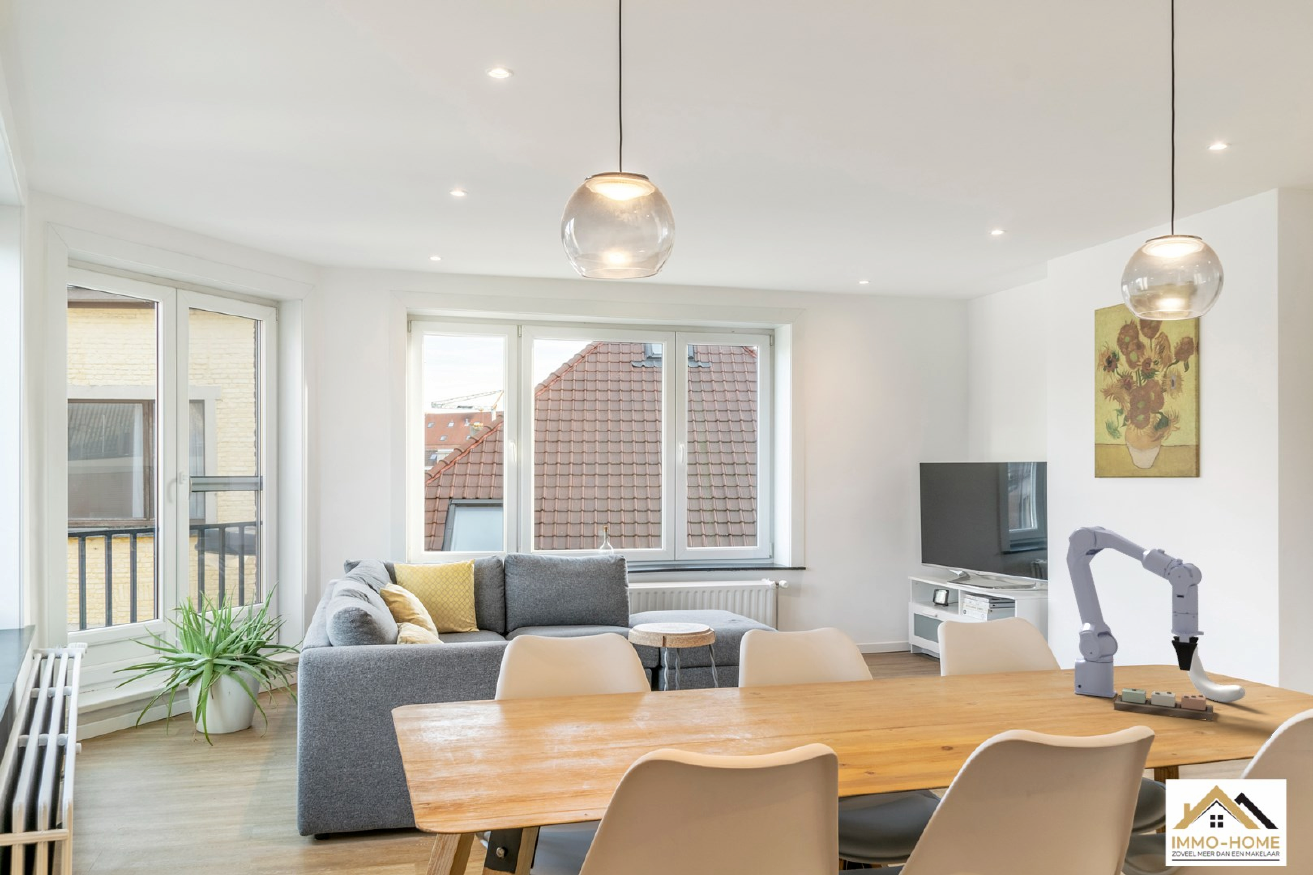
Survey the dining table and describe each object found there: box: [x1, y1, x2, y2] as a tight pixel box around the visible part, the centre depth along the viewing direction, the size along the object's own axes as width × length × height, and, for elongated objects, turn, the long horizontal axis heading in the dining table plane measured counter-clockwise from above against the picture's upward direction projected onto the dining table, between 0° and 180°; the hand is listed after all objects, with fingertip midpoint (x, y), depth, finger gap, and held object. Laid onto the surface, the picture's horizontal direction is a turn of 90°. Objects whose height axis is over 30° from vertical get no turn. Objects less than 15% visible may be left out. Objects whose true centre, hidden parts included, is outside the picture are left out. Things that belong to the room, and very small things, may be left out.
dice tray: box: [1113, 694, 1214, 722], centre depth 240 cm, size 21×11×2 cm, turn 59°
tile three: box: [1180, 693, 1207, 710], centre depth 237 cm, size 5×5×3 cm
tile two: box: [1150, 690, 1177, 707], centre depth 240 cm, size 5×5×3 cm
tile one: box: [1121, 687, 1147, 703], centre depth 243 cm, size 5×5×3 cm
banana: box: [1186, 646, 1246, 703], centre depth 252 cm, size 5×19×15 cm, turn 15°
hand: (1185, 667), depth 242 cm, fingers open, 7 cm apart
